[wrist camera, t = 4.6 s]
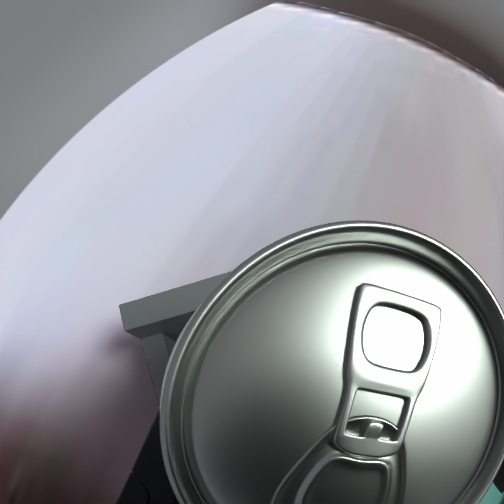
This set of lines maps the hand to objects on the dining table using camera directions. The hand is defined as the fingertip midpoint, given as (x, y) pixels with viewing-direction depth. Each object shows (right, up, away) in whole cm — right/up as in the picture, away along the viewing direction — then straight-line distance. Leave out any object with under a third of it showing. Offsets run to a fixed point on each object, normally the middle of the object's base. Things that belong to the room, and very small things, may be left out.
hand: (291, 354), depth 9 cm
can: (0, -4, +6) cm, 7 cm away
